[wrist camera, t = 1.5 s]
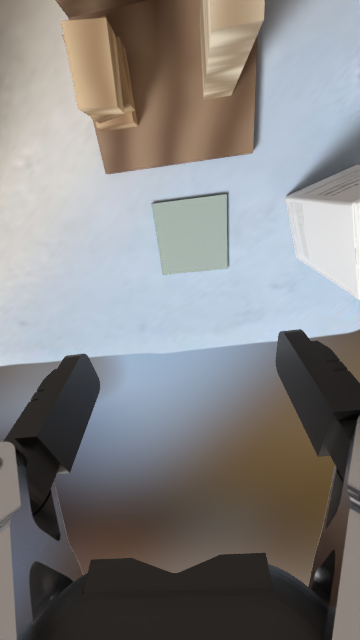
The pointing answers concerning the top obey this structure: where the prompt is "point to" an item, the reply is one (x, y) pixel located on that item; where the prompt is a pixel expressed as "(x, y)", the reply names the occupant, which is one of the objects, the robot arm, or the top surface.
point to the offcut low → (130, 118)
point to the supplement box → (329, 227)
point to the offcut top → (94, 66)
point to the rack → (170, 88)
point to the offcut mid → (125, 94)
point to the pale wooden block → (226, 42)
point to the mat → (192, 234)
